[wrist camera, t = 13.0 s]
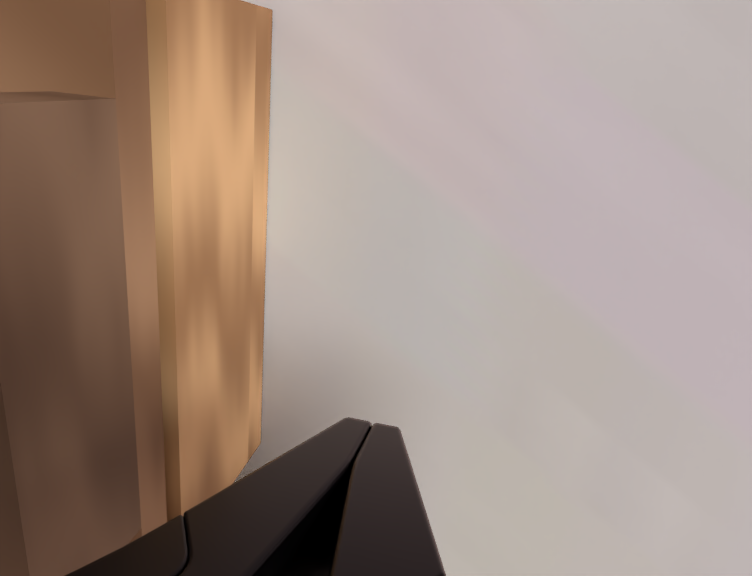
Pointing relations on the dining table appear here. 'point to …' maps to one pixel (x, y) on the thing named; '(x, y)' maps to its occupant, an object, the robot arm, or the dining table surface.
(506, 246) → the dining table surface
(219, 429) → the wooden box
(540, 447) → the dining table surface
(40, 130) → the lid
